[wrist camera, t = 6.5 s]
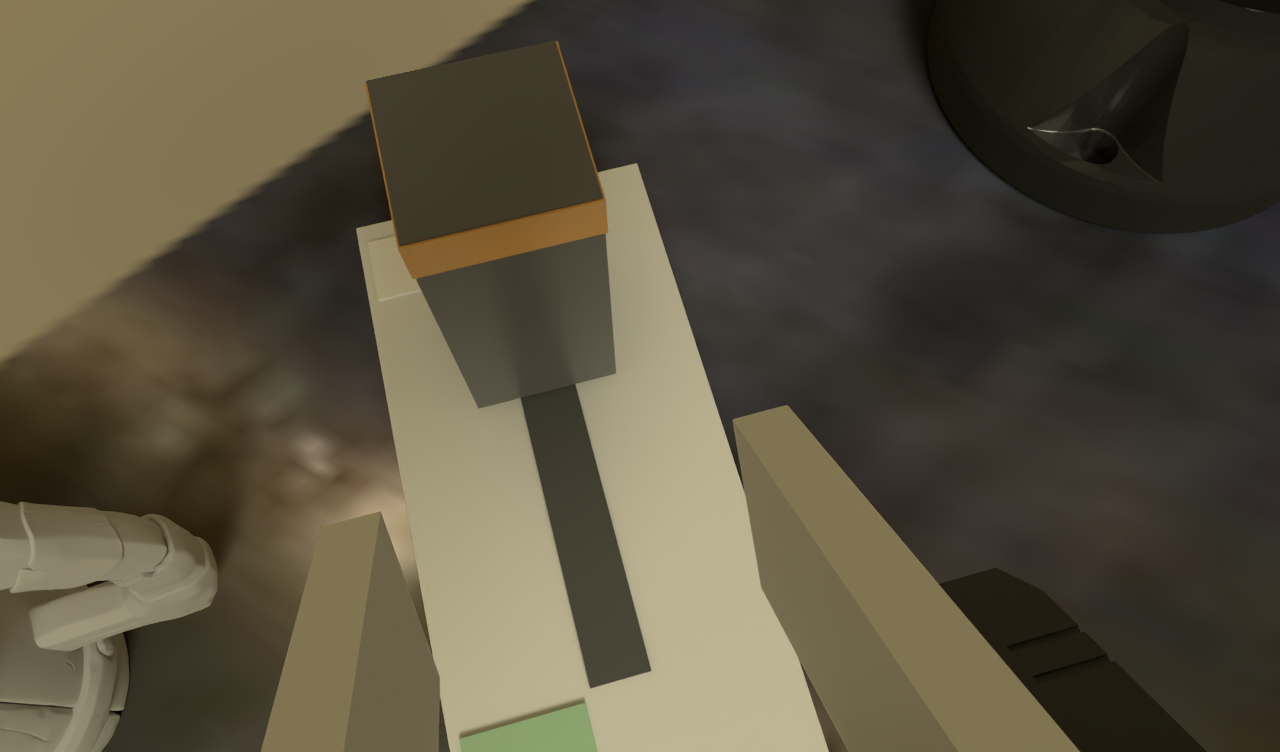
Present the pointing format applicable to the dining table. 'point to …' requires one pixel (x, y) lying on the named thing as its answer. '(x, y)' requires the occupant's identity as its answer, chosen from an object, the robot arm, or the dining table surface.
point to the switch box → (586, 532)
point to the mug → (84, 615)
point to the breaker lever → (500, 217)
